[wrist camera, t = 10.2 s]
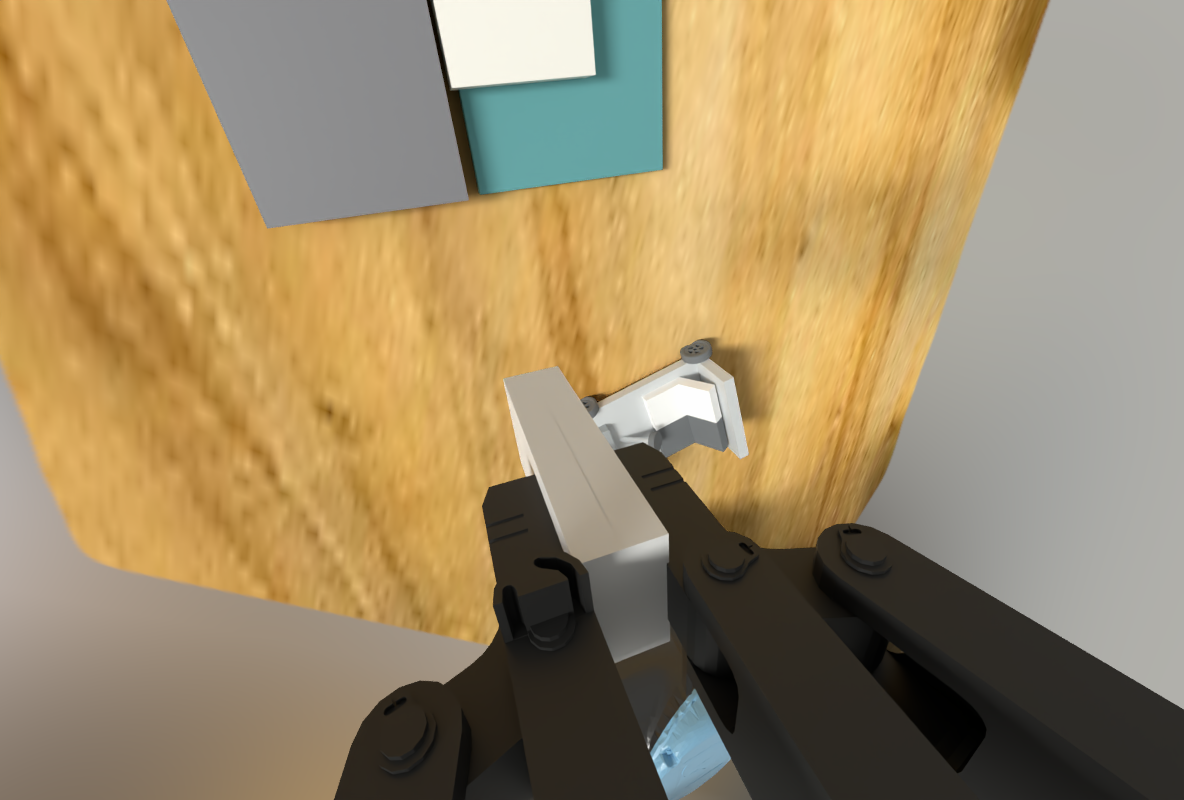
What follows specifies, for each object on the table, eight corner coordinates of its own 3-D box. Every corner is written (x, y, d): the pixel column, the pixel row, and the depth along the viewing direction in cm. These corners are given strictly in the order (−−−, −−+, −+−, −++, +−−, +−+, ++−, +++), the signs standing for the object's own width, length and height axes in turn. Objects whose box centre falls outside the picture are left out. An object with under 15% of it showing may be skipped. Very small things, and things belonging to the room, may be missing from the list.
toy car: (611, 562, 43) (567, 481, 36) (580, 494, 51) (538, 418, 44) (776, 472, 44) (762, 379, 38) (720, 420, 52) (700, 335, 46)
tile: (586, 77, 31) (595, 74, 29) (449, 90, 29) (452, 88, 27) (575, -44, 28) (586, -55, 26) (422, -39, 26) (422, -51, 24)
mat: (656, 168, 36) (662, 169, 35) (478, 192, 33) (480, 194, 32) (653, -177, 27) (660, -187, 26) (401, -190, 23) (401, -202, 23)
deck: (464, 195, 33) (469, 200, 30) (279, 220, 30) (267, 228, 27) (381, -191, 23) (377, -230, 21) (98, -206, 20) (55, -252, 18)
